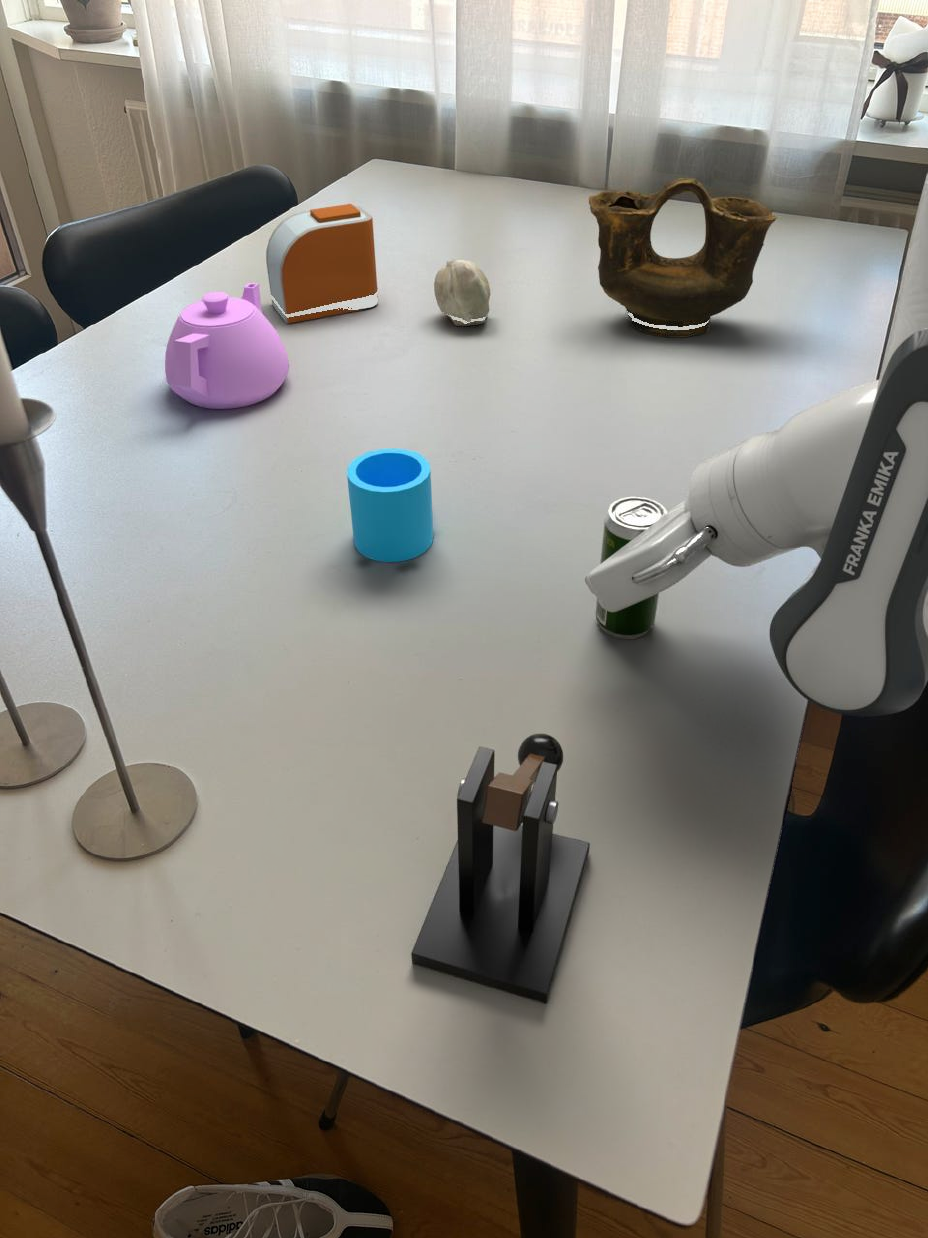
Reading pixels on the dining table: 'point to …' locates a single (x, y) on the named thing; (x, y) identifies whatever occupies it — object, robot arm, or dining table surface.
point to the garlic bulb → (462, 291)
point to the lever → (519, 782)
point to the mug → (391, 504)
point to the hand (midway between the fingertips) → (625, 558)
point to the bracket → (504, 892)
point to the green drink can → (619, 530)
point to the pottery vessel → (677, 283)
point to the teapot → (225, 352)
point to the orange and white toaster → (321, 260)
